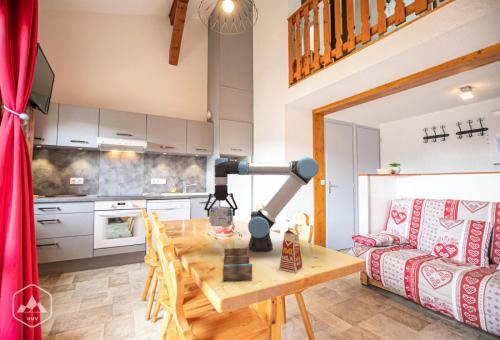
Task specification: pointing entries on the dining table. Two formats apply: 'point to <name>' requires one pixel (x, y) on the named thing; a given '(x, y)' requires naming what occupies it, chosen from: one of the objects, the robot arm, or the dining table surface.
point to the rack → (237, 265)
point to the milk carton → (291, 252)
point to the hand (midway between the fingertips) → (221, 222)
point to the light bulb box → (221, 216)
